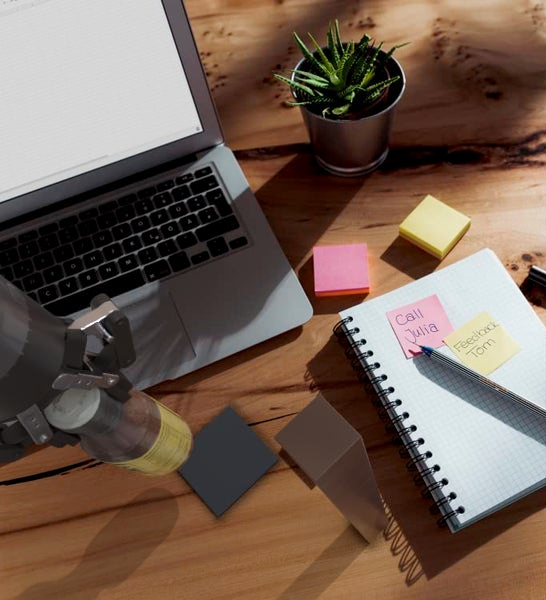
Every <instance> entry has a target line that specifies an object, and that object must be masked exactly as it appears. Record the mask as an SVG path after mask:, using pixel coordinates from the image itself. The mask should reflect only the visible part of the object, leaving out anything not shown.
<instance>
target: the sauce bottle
mask: <svg viewBox="0 0 546 600" xmlns="http://www.w3.org/2000/svg"><path fill="white" fill-rule="evenodd" d="M129 394H130V395H131V396H132V397H131V398H130V399H129V400H128V401H127V402H125V403H123V402H122V401H120V400H118V399H117V398H115V397H114V396H112V395H111V394H109V393H107V392H106V391H105V390H104V388H99V387H94V388H93V389H92V390H91V391H88V390H80V389H71V388H70V389H68V390H67V391H65V392H64V393H62V394H60V395H59V396H57V397H56V398H55V399H54V400H53V402H52V403H51V404H50V405H49V406H48V407H47V408H45V409H44V414H45V417H46V420H47V421H48V422H49V423H50V424H51V425H53V426H54V427H56V428H58V429H60V430H61V431H63V432H67V433H76V434H77V435H79V436H80V438H81V439H82V440H81V441H80V442H79V443H78V444H79V445H80V448H81V449H82V450H83V452H84V453H85V454H86V455H88V456H89V457H91V458H92V459H94V460H97V461H99V462H102V463H105V464H108V465H112V466H114V467H117V468H120V469H124V470H126V471H130V472H133V473H136V474H138V475H141V476H145V477H151V478H158V477H163V476H168V475H172V474H173V473H175V472H177V471H178V470H179V469H181V468H182V466H183V465H184V464H185V462H186V461H187V460H188V458H189V456H190V454H191V451H192V449H193V445H194V442H193V438H194V436H193V433H192V430H191V428H190V426H189V424H188V422H187V421H185V420H184V419H183V417H182V416H181V415H179V414H177V413H176V412H175V411H173V410H172V409H170V408H168V407H167V406H166V405H164V404H162V402H159V401H157V400H156V399H155V398H153V397H151V396H150V395H148V394H147V393H145V392H144V391H140V390H138V389H137V388H134V387H133V388H132V389H131V390H130V391H129Z"/></svg>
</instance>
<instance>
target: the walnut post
mask: <svg viewBox="0 0 546 600" xmlns="http://www.w3.org/2000/svg"><path fill="white" fill-rule="evenodd" d="M273 439H274V440H275V441H276V442H277V444H278V445H279V446H280V447H281V448H282V449H283V450H284V451H285V452H286V454H288V456H289V457H290V458H291V459H292V460H293V462H294V463H295V464H297V466H298V467H299V468H300V469H301V470H302V471H303V472H304V473H305V475H307V477H308V478H309V479H310V480H311V481H312V483H314V484H315V485H316V487H317V488H318V489H319V490H320V491H321V492H322V493H323V495H324V496H325V497H326V498H327V499H328V500H329V501H330V502H331V503H332V504H333V505H334V506H335V508H337V510H338V511H339V512H340V513H341V514H342V515H343V516H344V517H345V518H346V520H347V521H348V522H349V523H350V524H351V525H352V526H353V527H354V528H355V530H356V531H357V532H358V533H360V535H361V536H362V537H363V538H364V539H365V540H366V541H367V542H368V543H369V544H372V543H373V541H374V540H375V539H376V538H377V537H378V536H379V535H380V534H381V533H382V532H383V531H384V530H385V529H386V528H387V527H388V526H389V525H390V522H389V518H388V516H387V512H386V509H385V506H384V502H383V500H382V497H381V494H380V490H379V487H378V484H377V482H376V478H375V475H374V471H373V469H372V468H373V467H372V465H371V462H370V459H369V456H368V453H367V450H366V446H365V444H364V441H363V437H362V435H361V434H360V433H359V432H358V431H357V430H356V429H355V428H354V427H353V426H352V425H351V424H350V423H349V422H348V421H347V420H346V419H345V417H343V416H342V415H341V414H340V413H339V412H338V411H337V410H336V409H335V408H334V407H333V406H332V405H331V404H330V403H329V402H328V401H327V400H326V399H325V398H324V397H323V395H321V394H320V393H319V394H317V395H316V397H314V398H313V399H312V400H311V401H310V402H309V403H307V405H306V406H305V407H304V408H302V409H301V411H299V412H298V413H297V414H296V415H295V416H294V417H293V418H292V419H291V420H290V421H289V422H288V423H287V424H285V426H284V427H282V428H281V429H280V430H279V431H278V432H277V433H276V434H275V435H274V436H273Z"/></svg>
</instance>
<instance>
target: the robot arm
mask: <svg viewBox="0 0 546 600" xmlns="http://www.w3.org/2000/svg"><path fill="white" fill-rule="evenodd" d="M89 305H90V311H89V312H87V313H85V314H83V315H81V316H79V317H78V318H76V319H74V318H71V317H70V316H57V315H55V314H52V313H51V312H50V310H49V311H48V310H47V308H45V307H43V306H42V305H40V304H39V302H37V301H36V300H34V299H33V298H31V297H30V296H29V295H28V294H26V293H25V292H24V291H22V290H21V289H20V288H18V287H17V286H16V285H15V284H13V283H12V282H10V281H9V280H8V279H7V278H5V277H4V276H3V275H1V274H0V464H5V463H15V462H16V461H17V462H18V460H20V459H22V458H23V457H24V456H25V455H26V453H27V451H28V450H27V449H26V448H27V447H28V446H30V445H32V444H34V443H35V444H36V445H37V446H41V445H43V444H46V445H48V446H52V447H53V448H57V449H62V448H65V447H66V446H67V445H68V446H70V447H76V446H77V445H78V444H80V443H79V442H80V441H81V440H82V439H81V438H80V436H79V435H77V434H76V433H67V432H63V431H61V430H60V429H58V428H56V427H54V426H53V425H51V424H50V423H49V422H48V421H47V420H46V417H45V414H44V409H45V408H47V407H48V406H49V405H50V404H51V403H52V402H53V400H54V399H55V398H56V397H57V396H59V395H60V394H62V393H64V392H65V391H67V390H68V389H70V388H71V389H80V390H88V391H91V390H92V389H93V388H94V387H99V388H104V390H105V391H106V392H107V393H109V394H111V395H112V396H114V397H115V398H117V399H118V400H120V401H122V402H123V403H125V402H127V401H128V400H129V399H130V398H131V397H132V396H131V395H130V394H129V391H130V390H131V389H132V388H134V387H133V383H132V382H131V381H130V380H129V379H128V377H126V375H125V374H124V373H123V372H122V371H121V369H127V368H129V367H131V366H132V365H133V364H134V363H135V362H136V361H137V354H136V350H135V344H134V340H133V335H132V330H131V325H130V320H129V317H127V316H126V314H124V312H123V311H122V310H121V309H120V308H119V307H118V306H117V304H115V302H114V301H113V300H112V299H111V298H110V297H109V295H107V294H106V293H99V294H97V295H96V296H94V297H93V298H92V299H91V300H90V303H89ZM90 336H94V337H96V339H99V341H100V345H101V346H102V347H103V348H102V349H101V350H100V351H99V352H94V351H89V350H86V349H87V343H88V337H90ZM14 421H15V422H14ZM11 422H13V423H12V424H9V425H8V424H7V423H11Z"/></svg>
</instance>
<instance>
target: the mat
mask: <svg viewBox="0 0 546 600" xmlns="http://www.w3.org/2000/svg"><path fill="white" fill-rule="evenodd" d="M193 442H194V445H193V449H192V451H191V454H190V456H189V458H188V460H187V461H186V462H185V464H184V465H183V466H182V468H181V469H179V470H177V471H178V472H179V474H180V475H181V476H182V477H183V478H184V480H185V481H186V482H187V483H188V484H189V485H190V486H191V488H192V489H193V490H194V491H195V492H196V493H197V495H198V496H199V497H200V498H201V499H202V501H203V502H204V503H205V504H206V505H207V506H208V507H209V509H210V510H211V511H212V512H213V513H214V514H215V516H216V517H217V518H220V517H222V516H223V515H224V514H225V513H226V512H227V511H228V510H229V509H230V508H231V507H232V506H234V505H235V503H236V502H238V500H239V499H240V498H242V497H243V496H244V495H245V494H246V493H247V492H248V491H249V490H250V489H251V488H252V487H254V485H255V484H256V483H257V482H258V481H259V480H261V479H262V478H263V477H264V476H265V475H266V474H267V473H268V472H269V471H270V470H271V469H272V468H273V467H274V466H275V465H277V463H278V462H279V461H280V459H279V457H278V456H277V454H275V453H274V452H273V451H272V450H271V449H270V447H268V445H267V444H266V443H265V442H264V441H263V440H262V439H261V438H260V437H259V436H258V434H256V432H255V431H254V430H253V429H252V428H251V427H250V426H249V425H248V423H247V422H246V421H245V420H244V419H243V418H242V417H241V416H240V415H239V414H238V413H237V412H236V411H235V410H234V409H233V407H232V406H231V405H228V406H227V407H226V408H225V409H223V410H222V412H220V413H219V414H218V415H217V416H216V417H215V418H214V419H213V420H212V421H210V422H209V423H208V424H207V425H206V426H205V427H204V428H203V429H201V430H200V432H198V433H197V434H196V435H195V436H193Z"/></svg>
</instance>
